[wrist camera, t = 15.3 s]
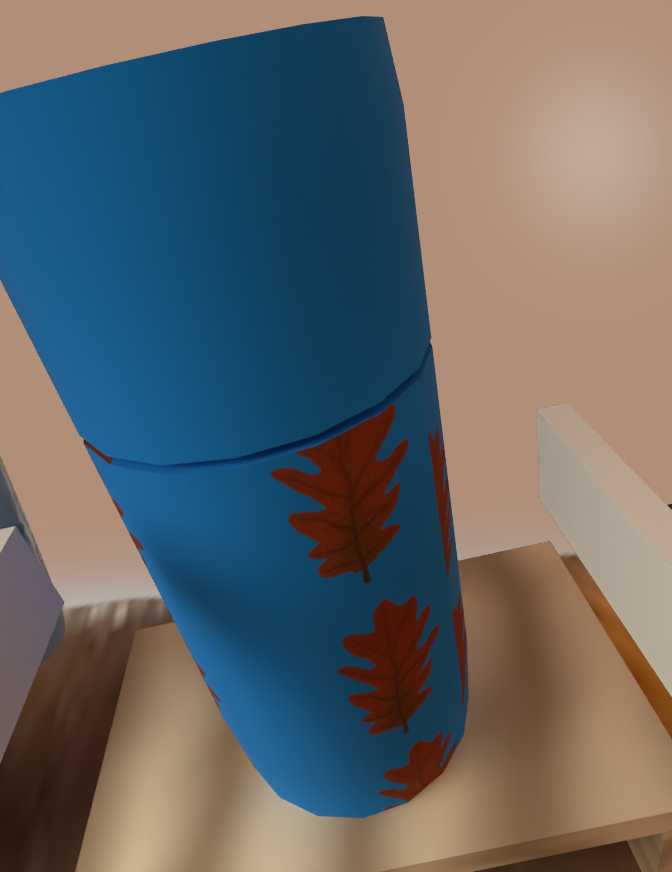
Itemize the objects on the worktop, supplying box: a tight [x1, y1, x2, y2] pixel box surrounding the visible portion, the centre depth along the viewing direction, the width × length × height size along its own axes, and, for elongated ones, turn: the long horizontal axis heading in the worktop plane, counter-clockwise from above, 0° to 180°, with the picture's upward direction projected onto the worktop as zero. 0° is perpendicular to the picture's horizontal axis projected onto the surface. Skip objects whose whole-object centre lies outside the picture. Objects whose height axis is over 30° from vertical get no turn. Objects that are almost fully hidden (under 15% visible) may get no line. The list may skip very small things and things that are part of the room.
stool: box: [75, 541, 672, 872], centre depth 29 cm, size 24×14×7 cm, turn 96°
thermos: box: [0, 16, 469, 818], centre depth 20 cm, size 11×11×25 cm
